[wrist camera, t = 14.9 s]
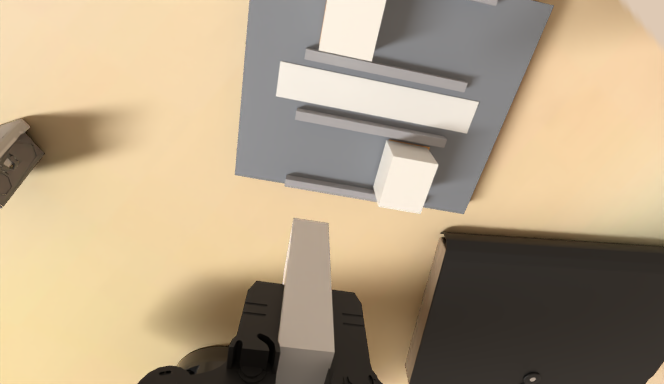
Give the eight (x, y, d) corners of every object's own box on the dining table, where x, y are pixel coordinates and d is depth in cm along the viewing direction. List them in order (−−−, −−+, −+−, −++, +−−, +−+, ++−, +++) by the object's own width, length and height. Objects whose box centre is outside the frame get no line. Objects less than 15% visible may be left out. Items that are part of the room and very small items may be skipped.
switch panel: (457, 204, 40) (467, 219, 38) (239, 166, 38) (232, 179, 35) (541, 5, 31) (561, 5, 28) (259, -63, 29) (252, -69, 26)
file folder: (408, 389, 50) (450, 245, 39) (403, 363, 53) (439, 224, 43) (638, 399, 52) (739, 263, 41) (617, 373, 55) (705, 242, 44)
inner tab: (411, 193, 37) (420, 213, 33) (373, 186, 36) (378, 206, 33) (427, 147, 35) (438, 164, 31) (386, 139, 34) (393, 156, 31)
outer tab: (366, 54, 31) (371, 61, 27) (319, 44, 30) (318, 50, 27) (381, -13, 28) (389, -15, 25) (331, -25, 28) (332, -28, 24)
